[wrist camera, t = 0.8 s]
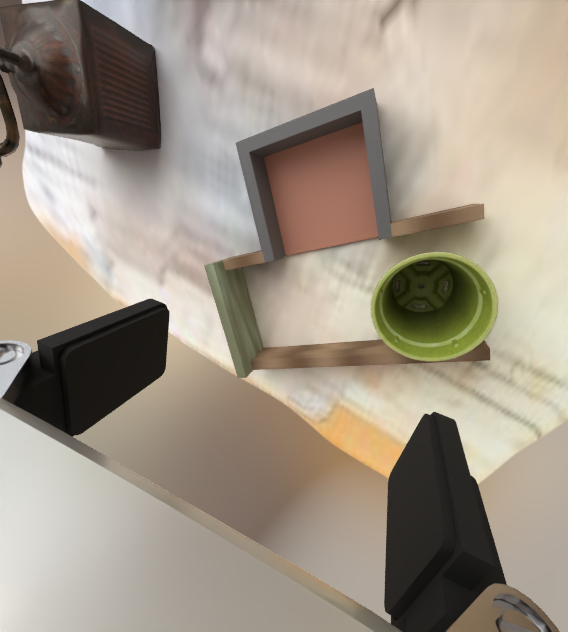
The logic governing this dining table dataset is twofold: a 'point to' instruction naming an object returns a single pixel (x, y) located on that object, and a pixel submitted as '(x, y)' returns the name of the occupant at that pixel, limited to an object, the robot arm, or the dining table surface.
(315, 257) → the dining table surface
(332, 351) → the lane
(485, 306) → the plant pot
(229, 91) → the dining table surface
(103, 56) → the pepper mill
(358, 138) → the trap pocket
